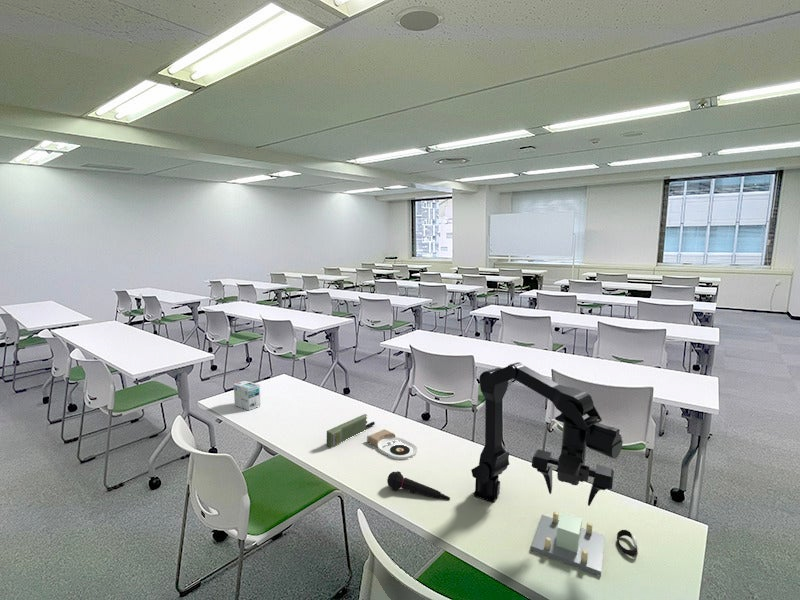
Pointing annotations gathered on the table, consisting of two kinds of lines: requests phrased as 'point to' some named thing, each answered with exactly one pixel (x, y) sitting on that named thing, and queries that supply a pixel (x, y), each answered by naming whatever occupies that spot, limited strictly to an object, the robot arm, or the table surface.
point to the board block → (569, 532)
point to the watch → (633, 552)
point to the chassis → (584, 559)
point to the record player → (391, 445)
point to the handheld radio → (347, 430)
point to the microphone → (412, 486)
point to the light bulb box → (247, 395)
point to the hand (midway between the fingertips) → (569, 498)
